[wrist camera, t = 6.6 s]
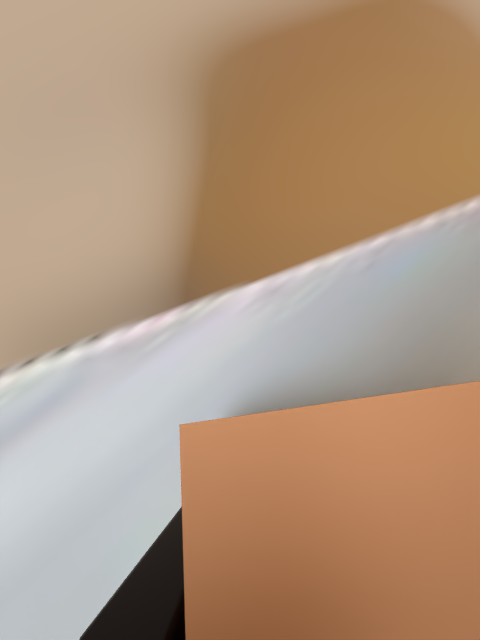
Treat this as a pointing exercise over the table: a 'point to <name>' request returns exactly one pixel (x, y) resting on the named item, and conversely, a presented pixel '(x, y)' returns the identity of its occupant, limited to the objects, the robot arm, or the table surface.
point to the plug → (335, 520)
